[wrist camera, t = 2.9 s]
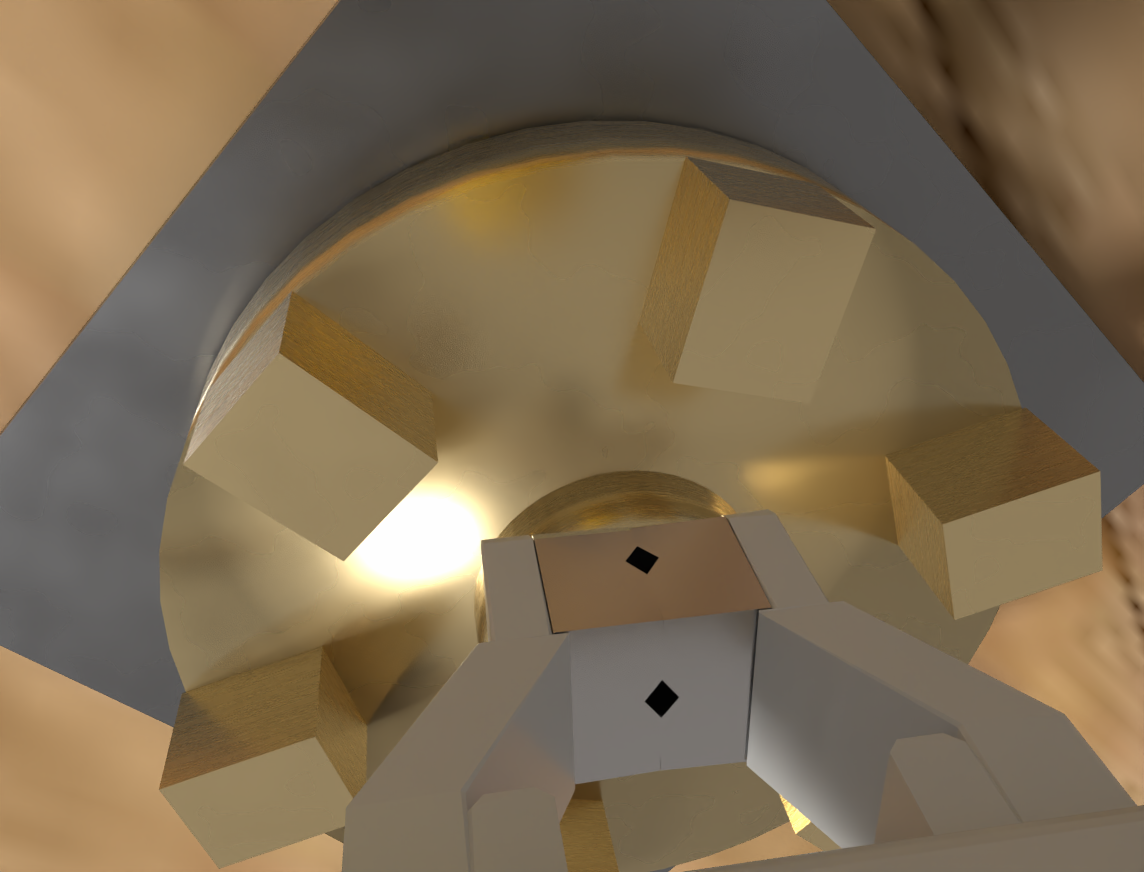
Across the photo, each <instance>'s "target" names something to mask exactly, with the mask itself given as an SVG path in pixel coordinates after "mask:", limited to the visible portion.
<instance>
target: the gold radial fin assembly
mask: <svg viewBox="0 0 1144 872" xmlns="http://www.w3.org/2000/svg"><path fill="white" fill-rule="evenodd" d="M766 509H769V510H770V511H772V512H774V513H776V515H777V516H778V518H779V520H780V521H781V523H782V525H783V526H784V528H785V530H786V531H787V533H788V535H789V536H790V538H791V540H792V541H793V543H794V545H795V546H796V548H797V550H798V551H799V553H800V555H801V556H802V558H803V560H804V561H805V563H806V565H807V566H808V568H809V570H810V571H811V573H812V574H813V576H814V578H815V579H816V581H817V583H818V584H819V586H820V588H821V589H822V591H823V593H824V594H825V596H826V598H827V599H828V601H829V602H838V601H844V602H846V603H848V604H850V605H852V606H854V607H856V608H858V609H860V610H862V611H864V612H866V613H868V614H870V615H872V616H874V617H876V618H878V619H880V620H882V621H883V622H885V623H887V624H889V625H891V626H893V627H895V628H897V629H899V630H901V631H903V632H905V633H907V634H909V635H911V636H913V637H915V638H917V639H919V640H921V641H923V642H925V643H927V644H928V645H930V646H932V647H934V648H936V649H938V650H940V651H942V652H944V653H946V654H948V655H950V656H952V657H954V658H956V659H958V660H960V661H962V662H964V663H966V664H968V663H969V662H970V660H971V658H972V657H973V655H974V654H975V652H976V650H977V649H978V647H979V645H980V644H981V642H982V640H983V639H984V637H985V635H986V634H987V632H988V630H989V628H990V626H991V624H992V622H993V620H994V617H995V615H996V613H997V611H998V609H999V606H1000V605H1001V604H1004V603H1007V602H1010V601H1013V600H1016V599H1019V598H1022V597H1025V596H1028V595H1031V594H1034V593H1037V592H1040V591H1043V590H1046V589H1049V588H1052V587H1055V586H1058V585H1061V584H1063V583H1066V582H1069V581H1072V580H1075V579H1078V578H1081V577H1084V576H1087V575H1090V574H1093V573H1096V572H1099V571H1102V527H1101V478H1100V470H1098V469H1097V468H1096V467H1095V466H1094V465H1093V464H1091V463H1090V462H1089V461H1088V460H1087V459H1086V458H1084V457H1083V456H1082V455H1081V454H1080V453H1079V452H1077V451H1076V450H1075V449H1074V448H1073V447H1071V446H1070V445H1069V444H1068V443H1067V442H1066V441H1064V440H1063V439H1062V438H1061V437H1060V436H1059V435H1057V434H1056V433H1055V432H1054V431H1053V430H1052V429H1050V428H1049V427H1048V426H1047V425H1046V424H1045V423H1043V422H1042V421H1041V420H1040V419H1039V418H1038V417H1036V416H1035V415H1034V414H1033V413H1032V412H1031V411H1029V410H1028V409H1027V408H1026V407H1025V408H1021V405H1020V401H1019V398H1018V395H1017V392H1016V389H1015V386H1014V383H1013V380H1012V376H1011V373H1010V370H1009V367H1008V364H1007V362H1006V360H1005V358H1004V357H1003V355H1002V353H1001V351H1000V349H999V347H998V345H997V343H996V341H995V339H994V337H993V335H992V333H991V332H990V330H989V328H988V326H987V324H986V322H985V320H984V319H983V318H982V317H981V315H980V314H979V313H978V311H977V310H976V309H975V307H974V306H973V305H972V303H971V302H970V301H969V299H968V298H967V297H966V295H965V294H964V293H963V292H962V290H961V289H960V288H959V286H958V285H957V284H956V282H955V281H954V280H953V279H952V278H951V277H950V276H949V275H948V274H946V273H945V272H944V271H943V270H942V269H941V268H940V267H939V266H938V265H937V264H936V263H935V262H934V261H933V260H931V259H930V258H929V257H928V256H927V255H926V254H925V253H924V252H923V251H922V250H921V249H920V248H919V247H918V246H916V245H915V244H914V243H913V242H911V241H910V240H909V239H907V238H906V237H904V236H903V235H902V234H900V233H899V232H898V231H896V230H895V229H893V228H892V227H891V226H889V225H888V224H887V223H885V222H884V221H882V220H881V219H880V218H878V217H877V216H876V215H874V214H873V213H871V212H870V211H869V210H867V209H866V208H865V207H863V206H862V205H860V204H859V203H858V202H856V201H855V200H854V199H852V198H851V197H849V196H848V195H846V194H845V193H843V192H842V191H840V190H839V189H837V188H836V187H834V186H833V185H831V184H830V183H828V182H827V181H825V180H824V179H822V178H821V177H819V176H818V175H816V174H815V173H813V172H812V171H810V170H809V169H807V168H805V167H803V166H801V165H799V164H797V163H795V162H792V161H790V160H788V159H786V158H784V157H782V156H780V155H777V154H775V153H773V152H771V151H769V150H767V149H765V148H762V147H760V146H758V145H755V144H751V143H748V142H744V141H741V140H738V139H734V138H731V137H728V136H724V135H721V134H717V133H714V132H711V131H707V130H704V129H697V128H690V127H683V126H676V125H669V124H662V123H655V122H649V121H580V122H572V123H565V124H557V125H549V126H542V127H534V128H526V129H522V130H518V131H514V132H510V133H507V134H503V135H499V136H496V137H492V138H488V139H484V140H481V141H477V142H473V143H469V144H466V145H463V146H460V147H458V148H456V149H453V150H451V151H448V152H446V153H444V154H441V155H439V156H436V157H434V158H432V159H429V160H427V161H424V162H422V163H420V164H417V165H415V166H412V167H410V168H408V169H406V170H404V171H402V172H400V173H399V174H397V175H395V176H394V177H392V178H390V179H389V180H387V181H385V182H383V183H382V184H380V185H378V186H377V187H375V188H373V189H371V190H370V191H368V192H366V193H365V194H363V195H361V196H359V197H358V198H356V199H354V200H353V201H352V202H350V203H349V204H348V205H346V206H345V207H344V208H343V209H341V210H340V211H339V212H338V213H336V214H335V215H334V216H332V217H331V218H330V219H329V220H327V221H326V222H325V223H323V224H322V225H321V226H320V227H318V228H317V229H316V230H315V231H313V232H312V233H311V234H309V235H308V236H307V237H306V238H305V239H304V240H303V241H302V242H301V243H300V244H299V245H298V246H297V247H296V248H295V249H294V250H293V251H292V252H291V253H290V254H289V255H288V256H287V258H286V259H285V260H284V261H283V262H282V263H281V264H280V265H279V266H278V267H277V268H276V269H275V270H274V271H273V272H272V273H271V274H270V275H269V276H268V277H267V278H266V280H265V281H264V282H263V284H262V285H261V286H260V288H259V289H258V291H257V292H256V293H255V295H254V296H253V298H252V299H251V300H250V302H249V303H248V305H247V306H246V307H245V309H244V310H243V312H242V313H241V314H240V316H239V317H238V319H237V320H236V321H235V323H234V324H233V326H232V328H231V330H230V332H229V334H228V336H227V338H226V340H225V342H224V344H223V346H222V348H221V350H220V352H219V354H218V356H217V357H216V359H215V361H214V363H213V365H212V367H211V369H210V371H209V374H208V377H207V380H206V383H205V386H204V389H203V392H202V395H201V398H200V401H199V404H198V407H197V410H196V413H195V416H194V419H193V422H192V425H191V428H190V431H189V434H188V437H187V440H186V443H185V446H184V449H183V452H182V455H181V458H180V461H179V464H178V467H177V470H176V473H175V476H174V479H173V482H172V485H171V488H170V491H169V495H168V498H167V503H166V510H165V516H164V523H163V530H162V536H161V543H160V549H159V562H160V602H161V608H162V613H163V618H164V623H165V628H166V633H167V638H168V644H169V649H170V651H171V654H172V657H173V659H174V662H175V665H176V667H177V670H178V673H179V675H180V678H181V681H182V683H183V686H184V688H185V691H186V692H184V693H182V695H181V699H180V704H179V708H178V712H177V716H176V720H175V725H174V729H173V733H172V737H171V741H170V746H169V750H168V754H167V758H166V762H165V767H164V771H163V775H162V779H161V783H160V788H159V790H160V792H161V793H162V794H163V796H164V797H165V798H166V800H167V801H168V802H169V803H170V805H171V806H172V807H173V809H174V810H175V811H176V813H177V814H178V815H179V817H180V818H181V819H182V821H183V822H184V823H185V825H186V826H187V827H188V828H189V830H190V831H191V832H192V834H193V835H194V836H195V838H196V839H197V840H198V842H199V843H200V844H201V846H202V847H203V848H204V849H205V851H206V852H207V853H208V855H209V856H210V857H211V859H212V860H213V861H214V863H215V864H216V865H217V867H218V868H219V869H220V868H223V867H225V866H228V865H231V864H234V863H237V862H240V861H243V860H246V859H249V858H252V857H255V856H258V855H261V854H264V853H267V852H270V851H273V850H276V849H279V848H282V847H285V846H288V845H291V844H294V843H297V842H300V841H302V840H305V839H308V838H311V837H314V836H317V835H320V834H323V833H325V834H327V835H329V836H331V837H333V838H335V839H336V840H338V841H340V842H342V843H344V830H345V815H346V807H347V806H348V805H349V803H350V802H351V801H352V800H353V798H354V797H355V796H356V795H357V793H358V792H359V791H360V790H361V788H362V787H363V786H364V785H365V783H366V782H367V781H368V780H369V778H370V777H371V776H372V775H373V773H374V772H375V771H376V770H377V768H378V767H379V766H380V765H381V763H382V762H383V761H384V760H385V758H386V757H387V756H388V755H389V753H390V752H391V751H392V750H393V748H394V747H395V746H396V745H397V743H398V742H399V741H400V740H401V738H402V737H403V736H404V735H405V733H406V732H407V731H408V730H409V728H410V727H411V726H412V725H413V723H414V722H415V721H416V720H417V718H418V717H419V716H420V715H421V713H422V712H423V711H424V710H425V708H426V707H427V706H428V705H429V703H430V702H431V701H432V700H433V698H434V697H435V696H436V695H437V693H438V692H439V691H440V690H441V688H442V687H443V686H444V685H445V683H446V682H447V681H448V680H449V678H450V677H451V676H452V675H453V673H454V672H455V671H456V670H457V668H458V667H459V666H460V665H461V663H462V662H463V661H464V660H465V658H466V657H467V656H468V655H469V653H470V652H471V651H472V650H473V648H474V647H475V646H476V645H477V644H478V643H484V642H488V631H487V619H486V607H485V594H484V582H483V570H482V558H481V540H485V539H494V538H504V537H513V536H522V535H529V536H530V537H531V538H532V535H535V534H547V533H559V532H571V531H582V530H594V529H606V528H618V527H629V528H632V527H640V526H648V525H657V524H665V523H673V522H681V521H689V520H698V519H706V518H714V517H721V516H723V515H730V514H737V513H745V512H752V511H759V510H766ZM789 821H791V824H792V826H793V828H794V831H795V833H796V834H797V835H798V836H800V837H802V838H803V839H805V840H807V841H808V842H810V843H812V844H813V845H815V846H817V847H818V848H820V849H822V850H823V851H829V850H835V849H842V848H841V847H840V846H838V845H837V844H836V843H835V842H834V841H833V840H831V839H830V838H829V837H828V836H827V835H826V834H825V833H823V832H822V831H821V830H820V829H819V828H818V827H817V826H815V825H814V824H813V823H812V822H811V821H810V820H809V819H807V818H806V817H805V816H804V815H803V814H802V813H800V812H799V811H798V810H797V809H796V808H795V807H794V806H792V805H791V804H790V803H789V802H788V801H787V800H786V799H784V798H783V797H782V796H781V795H780V794H779V793H778V792H776V791H775V790H774V789H773V788H772V787H771V786H769V785H768V784H767V783H766V782H765V781H764V780H763V779H761V778H760V777H759V776H758V775H757V774H756V773H755V772H753V771H752V770H751V769H750V768H749V767H748V766H747V762H738V763H728V764H719V765H709V766H700V767H690V768H681V769H671V770H662V771H661V770H660V771H655V772H648V773H642V774H636V775H630V776H624V777H617V778H611V779H605V780H599V781H593V782H586V783H580V784H575V791H574V793H573V795H572V797H571V800H570V802H569V804H568V806H567V808H566V810H565V812H564V815H563V817H562V819H561V821H560V823H559V824H560V830H561V835H562V841H563V847H564V852H565V858H566V863H567V869H568V872H651V871H656V870H661V869H665V868H669V867H672V866H676V865H679V864H682V863H686V862H689V861H693V860H696V859H700V858H703V857H706V856H710V855H712V854H715V853H718V852H720V851H723V850H725V849H728V848H731V847H733V846H736V845H738V844H741V843H744V842H746V841H749V840H751V839H754V838H756V837H758V836H760V835H762V834H764V833H766V832H768V831H770V830H772V829H774V828H776V827H778V826H781V825H783V824H785V823H787V822H789Z"/></svg>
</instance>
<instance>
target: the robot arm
mask: <svg viewBox="0 0 1144 872" xmlns="http://www.w3.org/2000/svg"><path fill="white" fill-rule="evenodd" d="M481 558H482V570H483V582H484V594H485V607H486V619H487V631H488V642H484V643H478V644H477V645H476V646H475V647H474V648H473V650H472V651H471V652H470V653H469V655H468V656H467V657H466V658H465V660H464V661H463V662H462V663H461V665H460V666H459V667H458V668H457V670H456V671H455V672H454V673H453V675H452V676H451V677H450V678H449V680H448V681H447V682H446V683H445V685H444V686H443V687H442V688H441V690H440V691H439V692H438V693H437V695H436V696H435V697H434V698H433V700H432V701H431V702H430V703H429V705H428V706H427V707H426V708H425V710H424V711H423V712H422V713H421V715H420V716H419V717H418V718H417V720H416V721H415V722H414V723H413V725H412V726H411V727H410V728H409V730H408V731H407V732H406V733H405V735H404V736H403V737H402V738H401V740H400V741H399V742H398V743H397V745H396V746H395V747H394V748H393V750H392V751H391V752H390V753H389V755H388V756H387V757H386V758H385V760H384V761H383V762H382V763H381V765H380V766H379V767H378V768H377V770H376V771H375V772H374V773H373V775H372V776H371V777H370V778H369V780H368V781H367V782H366V783H365V785H364V786H363V787H362V788H361V790H360V791H359V792H358V793H357V795H356V796H355V797H354V798H353V800H352V801H351V802H350V803H349V805H348V806H347V807H346V815H345V830H344V845H343V860H342V872H568V869H567V863H566V858H565V852H564V847H563V841H562V835H561V830H560V824H559V823H560V821H561V819H562V817H563V815H564V812H565V810H566V808H567V806H568V804H569V802H570V800H571V797H572V795H573V793H574V791H575V784H580V783H586V782H593V781H599V780H605V779H611V778H617V777H624V776H630V775H636V774H642V773H648V772H655V771H660V770H661V771H662V770H671V769H681V768H690V767H700V766H709V765H719V764H728V763H738V762H747V766H748V767H749V768H750V769H751V770H752V771H753V772H755V773H756V774H757V775H758V776H759V777H760V778H761V779H763V780H764V781H765V782H766V783H767V784H768V785H769V786H771V787H772V788H773V789H774V790H775V791H776V792H778V793H779V794H780V795H781V796H782V797H783V798H784V799H786V800H787V801H788V802H789V803H790V804H791V805H792V806H794V807H795V808H796V809H797V810H798V811H799V812H800V813H802V814H803V815H804V816H805V817H806V818H807V819H809V820H810V821H811V822H812V823H813V824H814V825H815V826H817V827H818V828H819V829H820V830H821V831H822V832H823V833H825V834H826V835H827V836H828V837H829V838H830V839H831V840H833V841H834V842H835V843H836V844H837V845H838V846H840V847H841V848H842V849H835V850H829V851H822V852H815V853H808V854H801V855H794V856H788V857H781V858H774V859H767V860H760V861H753V862H746V863H740V864H733V865H726V866H719V867H712V868H705V869H699V870H692V871H685V872H1144V805H1141V806H1137V805H1136V804H1135V802H1134V801H1133V800H1132V799H1131V797H1130V796H1129V795H1128V793H1127V792H1126V791H1125V790H1124V788H1123V787H1122V786H1121V785H1120V783H1119V782H1118V781H1117V780H1116V778H1115V777H1114V776H1113V775H1112V773H1111V772H1110V771H1109V770H1108V768H1107V767H1106V766H1105V764H1104V763H1103V762H1102V761H1101V759H1100V758H1099V757H1098V756H1097V754H1096V753H1095V752H1094V751H1093V749H1092V748H1091V747H1090V746H1089V744H1088V743H1087V742H1086V740H1085V739H1084V738H1083V737H1082V735H1081V734H1080V733H1079V732H1078V730H1077V729H1076V728H1075V727H1074V725H1073V724H1072V723H1071V722H1070V720H1069V719H1068V718H1067V716H1066V715H1065V714H1063V713H1061V712H1059V711H1057V710H1056V709H1054V708H1052V707H1050V706H1048V705H1046V704H1044V703H1042V702H1040V701H1038V700H1036V699H1034V698H1032V697H1030V696H1028V695H1026V694H1024V693H1022V692H1020V691H1018V690H1016V689H1014V688H1013V687H1011V686H1009V685H1007V684H1005V683H1003V682H1001V681H999V680H997V679H995V678H993V677H991V676H989V675H987V674H985V673H983V672H981V671H979V670H977V669H975V668H973V667H971V666H970V665H968V664H966V663H964V662H962V661H960V660H958V659H956V658H954V657H952V656H950V655H948V654H946V653H944V652H942V651H940V650H938V649H936V648H934V647H932V646H930V645H928V644H927V643H925V642H923V641H921V640H919V639H917V638H915V637H913V636H911V635H909V634H907V633H905V632H903V631H901V630H899V629H897V628H895V627H893V626H891V625H889V624H887V623H885V622H883V621H882V620H880V619H878V618H876V617H874V616H872V615H870V614H868V613H866V612H864V611H862V610H860V609H858V608H856V607H854V606H852V605H850V604H848V603H846V602H844V601H838V602H829V601H828V599H827V598H826V596H825V594H824V593H823V591H822V589H821V588H820V586H819V584H818V583H817V581H816V579H815V578H814V576H813V574H812V573H811V571H810V570H809V568H808V566H807V565H806V563H805V561H804V560H803V558H802V556H801V555H800V553H799V551H798V550H797V548H796V546H795V545H794V543H793V541H792V540H791V538H790V536H789V535H788V533H787V531H786V530H785V528H784V526H783V525H782V523H781V521H780V520H779V518H778V516H777V515H776V513H774V512H772V511H770V510H769V509H766V510H759V511H752V512H745V513H737V514H730V515H723V516H721V517H714V518H706V519H698V520H689V521H681V522H673V523H665V524H657V525H648V526H640V527H632V528H629V527H618V528H606V529H594V530H582V531H571V532H559V533H547V534H535V535H532V538H531V537H530V536H529V535H522V536H513V537H504V538H494V539H485V540H481Z"/></svg>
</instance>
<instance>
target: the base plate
mask: <svg viewBox="0 0 1144 872" xmlns="http://www.w3.org/2000/svg"><path fill="white" fill-rule="evenodd" d="M580 121H649V122H655V123H662V124H669V125H676V126H683V127H690V128H697V129H704V130H707V131H711V132H714V133H717V134H721V135H724V136H728V137H731V138H734V139H738V140H741V141H744V142H748V143H751V144H755V145H758V146H760V147H762V148H765V149H767V150H769V151H771V152H773V153H775V154H777V155H780V156H782V157H784V158H786V159H788V160H790V161H792V162H795V163H797V164H799V165H801V166H803V167H805V168H807V169H809V170H810V171H812V172H813V173H815V174H816V175H818V176H819V177H821V178H822V179H824V180H825V181H827V182H828V183H830V184H831V185H833V186H834V187H836V188H837V189H839V190H840V191H842V192H843V193H845V194H846V195H848V196H849V197H851V198H852V199H854V200H855V201H856V202H858V203H859V204H860V205H862V206H863V207H865V208H866V209H867V210H869V211H870V212H871V213H873V214H874V215H876V216H877V217H878V218H880V219H881V220H882V221H884V222H885V223H887V224H888V225H889V226H891V227H892V228H893V229H895V230H896V231H898V232H899V233H900V234H902V235H903V236H904V237H906V238H907V239H909V240H910V241H911V242H913V243H914V244H915V245H916V246H918V247H919V248H920V249H921V250H922V251H923V252H924V253H925V254H926V255H927V256H928V257H929V258H930V259H931V260H933V261H934V262H935V263H936V264H937V265H938V266H939V267H940V268H941V269H942V270H943V271H944V272H945V273H946V274H948V275H949V276H950V277H951V278H952V279H953V280H954V281H955V282H956V284H957V285H958V286H959V288H960V289H961V290H962V292H963V293H964V294H965V295H966V297H967V298H968V299H969V301H970V302H971V303H972V305H973V306H974V307H975V309H976V310H977V311H978V313H979V314H980V315H981V317H982V318H983V319H984V320H985V322H986V324H987V326H988V328H989V330H990V332H991V333H992V335H993V337H994V339H995V341H996V343H997V345H998V347H999V349H1000V351H1001V353H1002V355H1003V357H1004V358H1005V360H1006V362H1007V364H1008V367H1009V370H1010V373H1011V376H1012V380H1013V383H1014V386H1015V389H1016V392H1017V395H1018V398H1019V401H1020V405H1021V408H1025V407H1026V408H1027V409H1028V410H1029V411H1031V412H1032V413H1033V414H1034V415H1035V416H1036V417H1038V418H1039V419H1040V420H1041V421H1042V422H1043V423H1045V424H1046V425H1047V426H1048V427H1049V428H1050V429H1052V430H1053V431H1054V432H1055V433H1056V434H1057V435H1059V436H1060V437H1061V438H1062V439H1063V440H1064V441H1066V442H1067V443H1068V444H1069V445H1070V446H1071V447H1073V448H1074V449H1075V450H1076V451H1077V452H1079V453H1080V454H1081V455H1082V456H1083V457H1084V458H1086V459H1087V460H1088V461H1089V462H1090V463H1091V464H1093V465H1094V466H1095V467H1096V468H1097V469H1098V470H1100V478H1101V518H1103V517H1104V516H1105V515H1106V514H1108V513H1109V512H1110V511H1111V510H1113V509H1114V508H1115V507H1116V506H1117V505H1119V504H1120V503H1121V502H1122V501H1124V500H1125V499H1126V498H1127V497H1128V496H1130V495H1131V494H1132V493H1133V492H1135V491H1136V490H1137V489H1138V488H1140V487H1141V486H1142V485H1143V484H1144V382H1143V381H1142V380H1141V379H1140V378H1139V376H1138V375H1137V374H1136V373H1135V372H1134V370H1133V369H1132V368H1131V367H1130V366H1129V364H1128V363H1127V362H1126V361H1125V360H1124V358H1123V357H1122V356H1121V355H1120V354H1119V352H1118V351H1117V350H1116V349H1115V348H1114V346H1113V345H1112V344H1111V343H1110V342H1109V340H1108V339H1107V338H1106V337H1105V336H1104V334H1103V333H1102V332H1101V331H1100V330H1099V328H1098V327H1097V326H1096V325H1095V324H1094V322H1093V321H1092V320H1091V319H1090V317H1089V316H1088V315H1087V314H1086V313H1085V311H1084V310H1083V309H1082V308H1081V307H1080V305H1079V304H1078V303H1077V302H1076V301H1075V299H1074V298H1073V297H1072V296H1071V295H1070V293H1069V292H1068V291H1067V290H1066V289H1065V287H1064V286H1063V285H1062V284H1061V283H1060V281H1059V280H1058V279H1057V278H1056V277H1055V275H1054V274H1053V273H1052V272H1051V271H1050V269H1049V268H1048V267H1047V266H1046V265H1045V263H1044V262H1043V261H1042V260H1041V258H1040V257H1039V256H1038V255H1037V254H1036V252H1035V251H1034V250H1033V249H1032V248H1031V246H1030V245H1029V244H1028V243H1027V242H1026V240H1025V239H1024V238H1023V237H1022V236H1021V234H1020V233H1019V232H1018V231H1017V230H1016V228H1015V227H1014V226H1013V225H1012V224H1011V222H1010V221H1009V220H1008V219H1007V218H1006V216H1005V215H1004V214H1003V213H1002V212H1001V210H1000V209H999V208H998V207H997V206H996V204H995V203H994V202H993V201H992V200H991V198H990V197H989V196H988V195H987V193H986V192H985V191H984V190H983V189H982V187H981V186H980V185H979V184H978V183H977V181H976V180H975V179H974V178H973V177H972V175H971V174H970V173H969V172H968V171H967V169H966V168H965V167H964V166H963V165H962V163H961V162H960V161H959V160H958V159H957V157H956V156H955V155H954V154H953V153H952V151H951V150H950V149H949V148H948V147H947V145H946V144H945V143H944V142H943V141H942V139H941V138H940V137H939V136H938V135H937V133H936V132H935V131H934V130H933V128H932V127H931V126H930V125H929V124H928V122H927V121H926V120H925V119H924V118H923V116H922V115H921V114H920V113H919V112H918V110H917V109H916V108H915V107H914V106H913V104H912V103H911V102H910V101H909V100H908V98H907V97H906V96H905V95H904V94H903V92H902V91H901V90H900V89H899V88H898V86H897V85H896V84H895V83H894V82H893V80H892V79H891V78H890V77H889V76H888V74H887V73H886V72H885V71H884V69H883V68H882V67H881V66H880V65H879V63H878V62H877V61H876V60H875V59H874V57H873V56H872V55H871V54H870V53H869V51H868V50H867V49H866V48H865V47H864V45H863V44H862V43H861V42H860V41H859V39H858V38H857V37H856V36H855V35H854V33H853V32H852V31H851V30H850V29H849V27H848V26H847V25H846V24H845V23H844V21H843V20H842V19H841V18H840V17H839V15H838V14H837V13H836V12H835V11H834V9H833V8H832V7H831V6H830V4H829V3H828V2H827V1H826V0H338V1H337V2H336V4H335V5H334V6H333V8H332V9H331V10H330V11H329V13H328V14H327V15H326V17H325V18H324V19H323V20H322V22H321V23H320V24H319V25H318V27H317V28H316V29H315V31H314V32H313V33H312V34H311V36H310V37H309V38H308V40H307V41H306V42H305V43H304V45H303V46H302V47H301V49H300V50H299V51H298V52H297V54H296V55H295V56H294V57H293V59H292V60H291V61H290V63H289V64H288V65H287V66H286V68H285V69H284V70H283V72H282V73H281V74H280V75H279V77H278V78H277V79H276V81H275V82H274V83H273V84H272V86H271V87H270V88H269V90H268V91H267V92H266V93H265V95H264V96H263V97H262V98H261V100H260V101H259V102H258V104H257V105H256V106H255V107H254V109H253V110H252V111H251V113H250V114H249V115H248V116H247V118H246V119H245V120H244V122H243V123H242V124H241V125H240V127H239V128H238V129H237V130H236V132H235V133H234V134H233V136H232V137H231V138H230V139H229V141H228V142H227V143H226V145H225V146H224V147H223V148H222V150H221V151H220V152H219V154H218V155H217V156H216V157H215V159H214V160H213V161H212V162H211V164H210V165H209V166H208V168H207V169H206V170H205V171H204V173H203V174H202V175H201V177H200V178H199V179H198V180H197V182H196V183H195V184H194V186H193V187H192V188H191V189H190V191H189V192H188V193H187V195H186V196H185V197H184V198H183V200H182V201H181V202H180V203H179V205H178V206H177V207H176V209H175V210H174V211H173V212H172V214H171V215H170V216H169V218H168V219H167V220H166V221H165V223H164V224H163V225H162V227H161V228H160V229H159V230H158V232H157V233H156V234H155V235H154V237H153V238H152V239H151V241H150V242H149V243H148V244H147V246H146V247H145V248H144V250H143V251H142V252H141V253H140V255H139V256H138V257H137V259H136V260H135V261H134V262H133V264H132V265H131V266H130V268H129V269H128V270H127V271H126V273H125V274H124V275H123V276H122V278H121V279H120V280H119V282H118V283H117V284H116V285H115V287H114V288H113V289H112V291H111V292H110V293H109V294H108V296H107V297H106V298H105V300H104V301H103V302H102V303H101V305H100V306H99V307H98V308H97V310H96V311H95V312H94V314H93V315H92V316H91V317H90V319H89V320H88V321H87V323H86V324H85V325H84V326H83V328H82V329H81V330H80V332H79V333H78V334H77V335H76V337H75V338H74V339H73V341H72V342H71V343H70V344H69V346H68V347H67V348H66V349H65V351H64V352H63V353H62V355H61V356H60V357H59V358H58V360H57V361H56V362H55V364H54V365H53V366H52V367H51V369H50V370H49V371H48V373H47V374H46V375H45V376H44V378H43V379H42V380H41V381H40V383H39V384H38V385H37V387H36V388H35V389H34V390H33V392H32V393H31V394H30V396H29V397H28V398H27V399H26V401H25V402H24V403H23V405H22V406H21V407H20V408H19V410H18V411H17V412H16V413H15V415H14V416H13V417H12V419H11V420H10V421H9V422H8V424H7V425H6V426H5V428H4V429H3V430H2V431H1V433H0V646H3V647H5V648H7V649H9V650H11V651H13V652H15V653H17V654H19V655H22V656H24V657H26V658H28V659H30V660H32V661H34V662H36V663H39V664H41V665H43V666H45V667H47V668H49V669H51V670H53V671H55V672H58V673H60V674H62V675H64V676H66V677H68V678H70V679H72V680H74V681H77V682H79V683H81V684H83V685H85V686H87V687H89V688H91V689H94V690H96V691H98V692H100V693H102V694H104V695H106V696H108V697H110V698H113V699H115V700H117V701H119V702H121V703H123V704H125V705H127V706H130V707H132V708H134V709H136V710H138V711H140V712H142V713H144V714H146V715H149V716H151V717H153V718H155V719H157V720H159V721H161V722H163V723H165V724H168V725H170V726H172V727H174V725H175V720H176V716H177V712H178V708H179V704H180V699H181V695H182V693H184V692H186V691H185V688H184V686H183V683H182V681H181V678H180V675H179V673H178V670H177V667H176V665H175V662H174V659H173V657H172V654H171V651H170V649H169V644H168V638H167V633H166V628H165V623H164V618H163V613H162V608H161V602H160V562H159V549H160V543H161V536H162V530H163V523H164V516H165V510H166V503H167V498H168V495H169V491H170V488H171V485H172V482H173V479H174V476H175V473H176V470H177V467H178V464H179V461H180V458H181V455H182V452H183V449H184V446H185V443H186V440H187V437H188V434H189V431H190V428H191V425H192V422H193V419H194V416H195V413H196V410H197V407H198V404H199V401H200V398H201V395H202V392H203V389H204V386H205V383H206V380H207V377H208V374H209V371H210V369H211V367H212V365H213V363H214V361H215V359H216V357H217V356H218V354H219V352H220V350H221V348H222V346H223V344H224V342H225V340H226V338H227V336H228V334H229V332H230V330H231V328H232V326H233V324H234V323H235V321H236V320H237V319H238V317H239V316H240V314H241V313H242V312H243V310H244V309H245V307H246V306H247V305H248V303H249V302H250V300H251V299H252V298H253V296H254V295H255V293H256V292H257V291H258V289H259V288H260V286H261V285H262V284H263V282H264V281H265V280H266V278H267V277H268V276H269V275H270V274H271V273H272V272H273V271H274V270H275V269H276V268H277V267H278V266H279V265H280V264H281V263H282V262H283V261H284V260H285V259H286V258H287V256H288V255H289V254H290V253H291V252H292V251H293V250H294V249H295V248H296V247H297V246H298V245H299V244H300V243H301V242H302V241H303V240H304V239H305V238H306V237H307V236H308V235H309V234H311V233H312V232H313V231H315V230H316V229H317V228H318V227H320V226H321V225H322V224H323V223H325V222H326V221H327V220H329V219H330V218H331V217H332V216H334V215H335V214H336V213H338V212H339V211H340V210H341V209H343V208H344V207H345V206H346V205H348V204H349V203H350V202H352V201H353V200H354V199H356V198H358V197H359V196H361V195H363V194H365V193H366V192H368V191H370V190H371V189H373V188H375V187H377V186H378V185H380V184H382V183H383V182H385V181H387V180H389V179H390V178H392V177H394V176H395V175H397V174H399V173H400V172H402V171H404V170H406V169H408V168H410V167H412V166H415V165H417V164H420V163H422V162H424V161H427V160H429V159H432V158H434V157H436V156H439V155H441V154H444V153H446V152H448V151H451V150H453V149H456V148H458V147H460V146H463V145H466V144H469V143H473V142H477V141H481V140H484V139H488V138H492V137H496V136H499V135H503V134H507V133H510V132H514V131H518V130H522V129H526V128H534V127H542V126H549V125H557V124H565V123H572V122H580ZM673 867H675V866H672V867H669V868H665V869H661V870H656V871H651V872H668V871H670V870H671V869H672V868H673Z"/></svg>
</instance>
